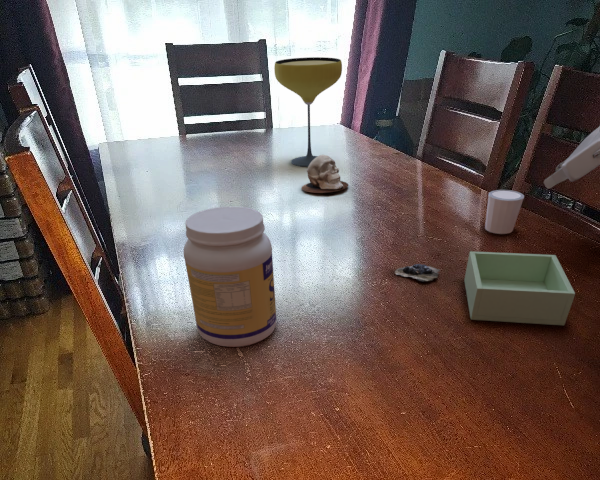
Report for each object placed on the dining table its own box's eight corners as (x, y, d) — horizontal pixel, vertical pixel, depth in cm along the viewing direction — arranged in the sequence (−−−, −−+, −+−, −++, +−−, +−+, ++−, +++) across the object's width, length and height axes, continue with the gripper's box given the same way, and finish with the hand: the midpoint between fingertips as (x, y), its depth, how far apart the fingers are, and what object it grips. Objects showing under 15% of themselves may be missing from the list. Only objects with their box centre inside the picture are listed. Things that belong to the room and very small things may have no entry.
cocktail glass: (277, 155, 157) (271, 59, 142) (334, 152, 159) (336, 56, 143) (281, 172, 143) (276, 66, 128) (345, 168, 145) (347, 63, 129)
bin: (546, 284, 87) (555, 254, 83) (564, 325, 76) (575, 293, 73) (464, 280, 89) (469, 251, 85) (470, 319, 78) (477, 288, 75)
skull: (361, 183, 129) (342, 156, 121) (337, 217, 130) (316, 192, 122) (331, 171, 137) (311, 145, 129) (309, 204, 138) (287, 180, 130)
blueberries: (436, 286, 87) (437, 275, 86) (389, 280, 89) (390, 269, 88) (441, 269, 92) (443, 259, 91) (397, 264, 94) (398, 254, 93)
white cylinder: (519, 226, 107) (528, 192, 103) (511, 237, 103) (519, 202, 98) (487, 220, 110) (494, 187, 106) (477, 231, 106) (484, 196, 101)
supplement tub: (286, 342, 75) (280, 228, 64) (203, 357, 72) (183, 241, 62) (266, 303, 84) (258, 199, 73) (192, 316, 81) (173, 209, 71)
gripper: (631, 155, 79) (548, 208, 90) (645, 129, 93) (571, 178, 103) (610, 121, 79) (528, 178, 89) (628, 99, 92) (554, 151, 102)
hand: (551, 178), depth 96 cm, fingers open, 8 cm apart
